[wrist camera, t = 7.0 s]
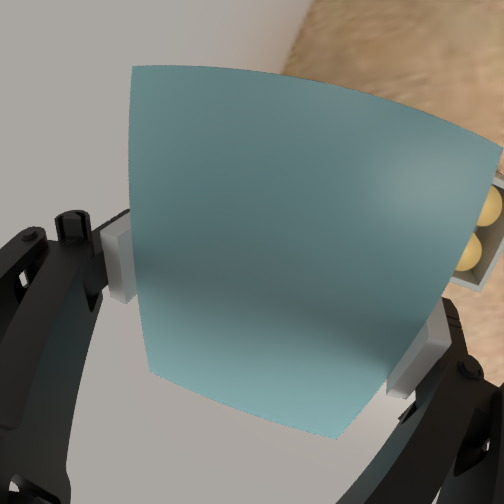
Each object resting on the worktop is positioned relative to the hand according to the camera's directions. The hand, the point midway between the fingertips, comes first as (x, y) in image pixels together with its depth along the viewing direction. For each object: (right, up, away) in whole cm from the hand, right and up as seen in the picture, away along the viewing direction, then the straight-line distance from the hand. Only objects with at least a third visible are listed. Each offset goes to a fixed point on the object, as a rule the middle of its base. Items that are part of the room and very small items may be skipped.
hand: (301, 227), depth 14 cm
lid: (-1, -2, -2) cm, 3 cm away
